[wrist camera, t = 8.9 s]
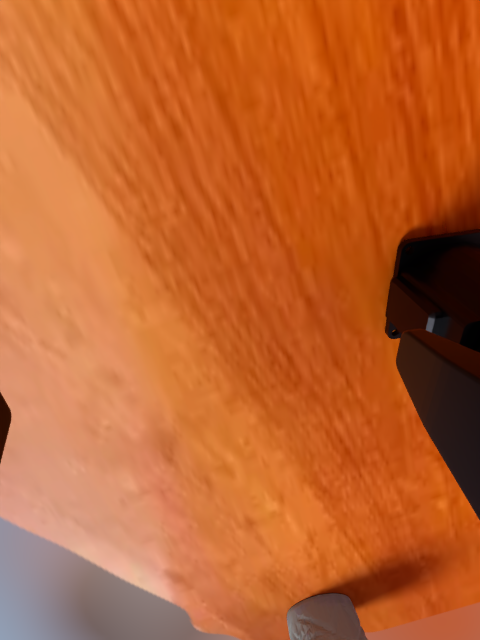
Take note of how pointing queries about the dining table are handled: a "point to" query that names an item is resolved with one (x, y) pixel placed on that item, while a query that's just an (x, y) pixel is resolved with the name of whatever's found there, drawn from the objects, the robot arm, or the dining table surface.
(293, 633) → the gray tapered pot
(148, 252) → the dining table surface
